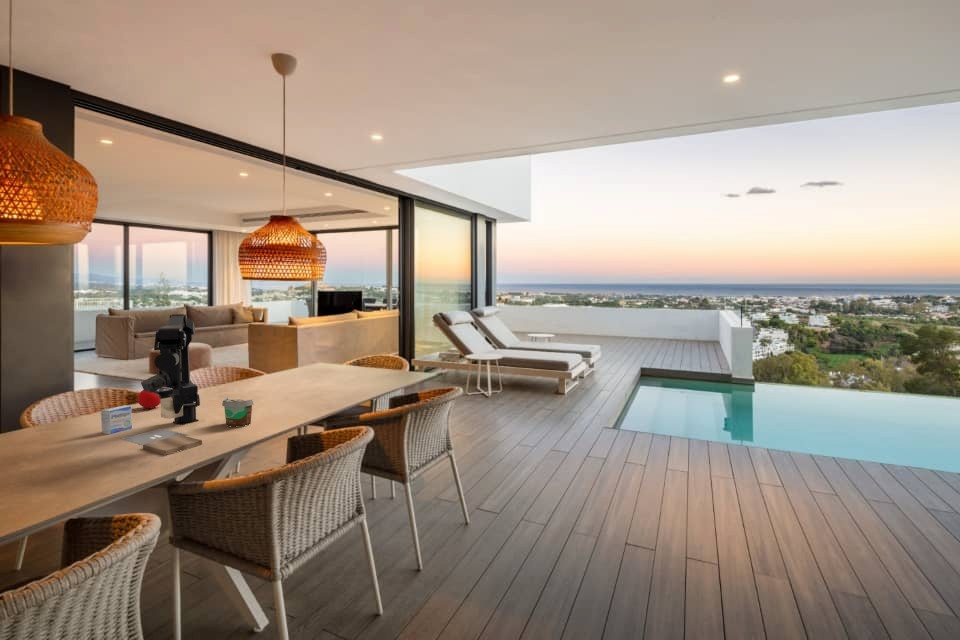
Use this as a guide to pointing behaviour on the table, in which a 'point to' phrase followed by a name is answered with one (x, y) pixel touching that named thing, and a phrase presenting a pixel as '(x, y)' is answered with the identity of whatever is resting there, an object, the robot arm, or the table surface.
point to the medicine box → (116, 419)
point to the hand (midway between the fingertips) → (172, 412)
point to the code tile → (151, 436)
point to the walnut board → (172, 444)
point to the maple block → (169, 409)
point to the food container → (237, 412)
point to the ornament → (148, 399)
